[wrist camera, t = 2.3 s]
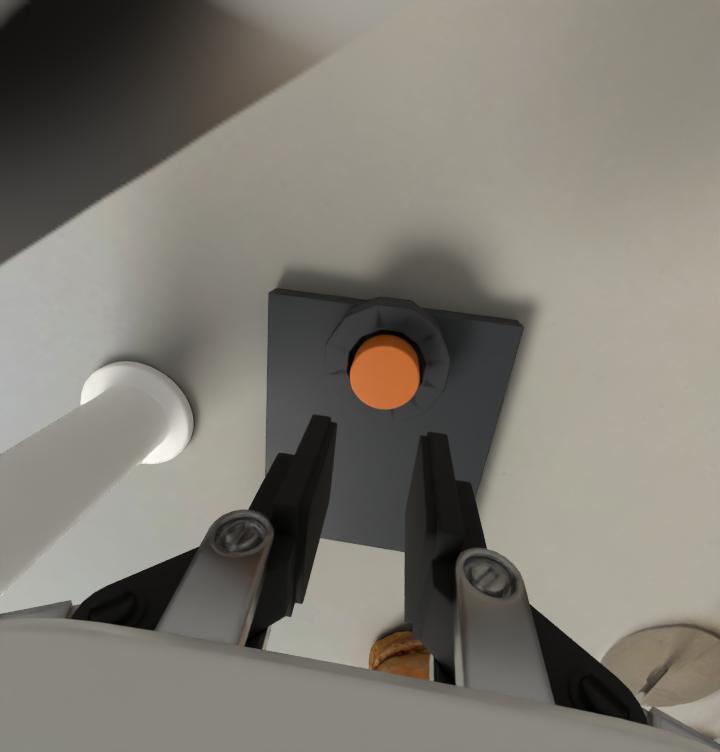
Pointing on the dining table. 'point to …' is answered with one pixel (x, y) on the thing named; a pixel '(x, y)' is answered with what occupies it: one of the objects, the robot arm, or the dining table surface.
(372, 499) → the scale
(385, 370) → the button
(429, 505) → the robot arm
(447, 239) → the dining table surface
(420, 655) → the burger
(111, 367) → the candle
